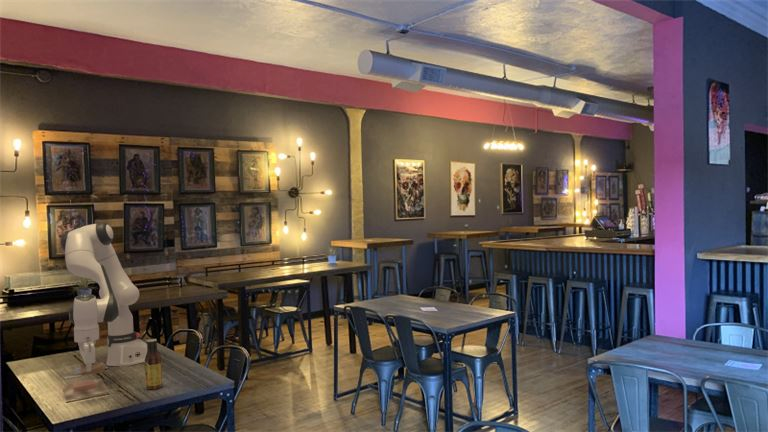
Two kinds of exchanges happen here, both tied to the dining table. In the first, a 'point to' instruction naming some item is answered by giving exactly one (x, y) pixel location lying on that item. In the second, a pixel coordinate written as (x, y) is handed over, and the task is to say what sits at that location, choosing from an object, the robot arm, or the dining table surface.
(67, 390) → the board
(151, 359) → the sauce bottle
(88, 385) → the tile
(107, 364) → the robot arm
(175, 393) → the dining table surface
